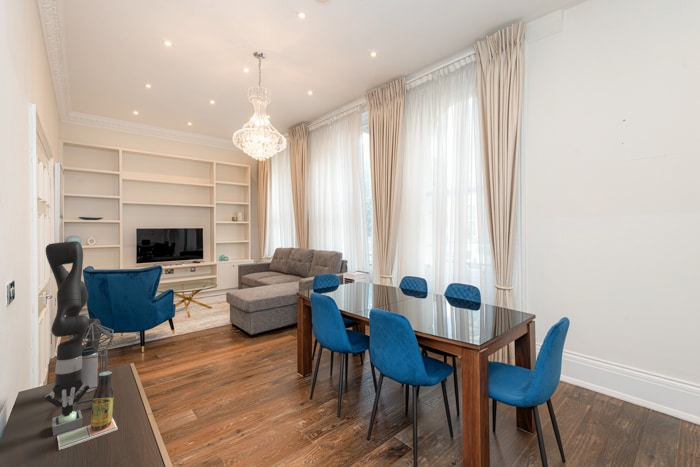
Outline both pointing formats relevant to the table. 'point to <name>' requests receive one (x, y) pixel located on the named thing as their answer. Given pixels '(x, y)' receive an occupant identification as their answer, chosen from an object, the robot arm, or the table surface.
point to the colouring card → (83, 435)
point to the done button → (67, 417)
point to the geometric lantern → (110, 336)
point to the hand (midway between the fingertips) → (67, 415)
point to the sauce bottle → (102, 402)
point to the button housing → (66, 424)
